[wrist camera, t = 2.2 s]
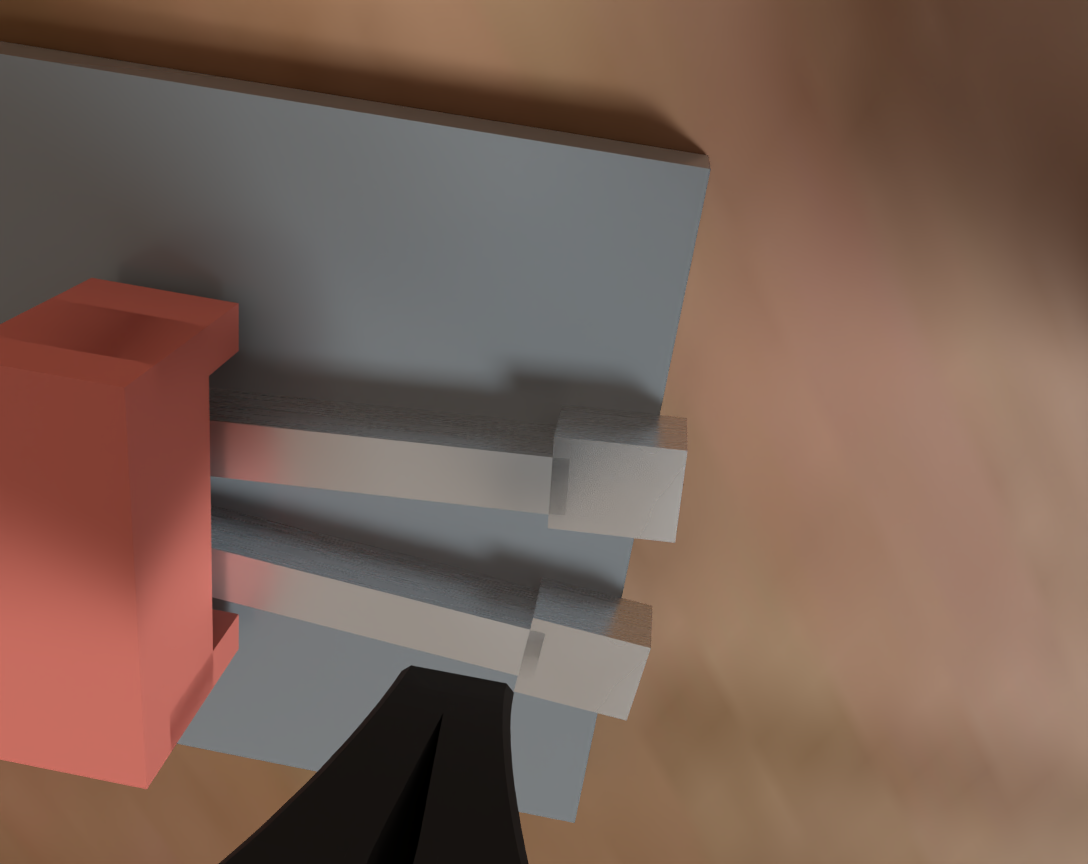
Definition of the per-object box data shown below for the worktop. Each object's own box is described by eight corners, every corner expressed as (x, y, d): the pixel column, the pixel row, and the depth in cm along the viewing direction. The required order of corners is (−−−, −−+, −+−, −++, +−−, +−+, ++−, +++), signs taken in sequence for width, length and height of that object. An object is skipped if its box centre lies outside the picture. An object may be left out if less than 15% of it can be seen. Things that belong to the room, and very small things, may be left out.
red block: (238, 302, 15) (124, 387, 12) (238, 648, 18) (146, 789, 15) (91, 277, 15) (-60, 354, 12) (115, 625, 18) (-2, 759, 15)
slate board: (708, 155, 15) (710, 168, 14) (579, 778, 21) (574, 822, 20) (-497, -40, 16) (-583, -41, 15) (-306, 604, 22) (-358, 636, 21)
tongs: (694, 419, 16) (695, 457, 14) (636, 676, 18) (633, 729, 17) (-505, 208, 17) (-602, 226, 15) (-416, 475, 19) (-494, 512, 18)
